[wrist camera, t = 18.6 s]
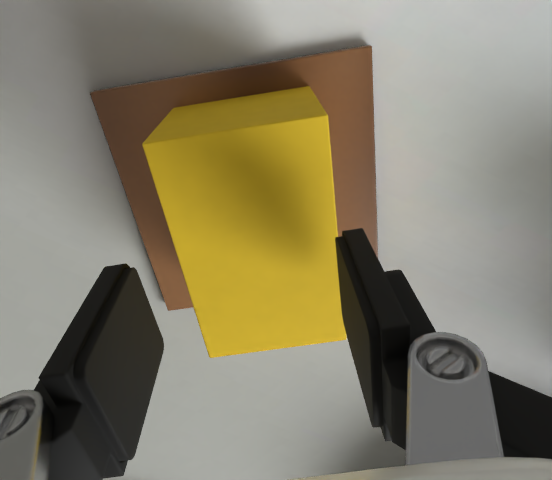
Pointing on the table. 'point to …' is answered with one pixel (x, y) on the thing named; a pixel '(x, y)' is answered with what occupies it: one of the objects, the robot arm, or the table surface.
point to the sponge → (253, 218)
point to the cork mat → (232, 84)
